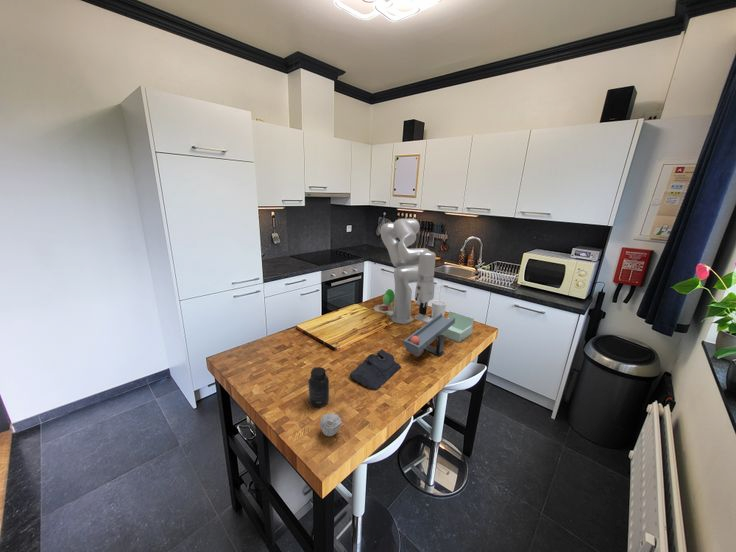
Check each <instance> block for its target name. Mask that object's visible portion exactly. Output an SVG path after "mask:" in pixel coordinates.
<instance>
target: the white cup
mask: <svg viewBox="0 0 736 552" xmlns="http://www.w3.org/2000/svg"><path fill="white" fill-rule="evenodd" d="M431 301H432V302H431V318H435V317H436V316H438V315H439V314H440V313H442V317H444V318H445V313H446V306H447V302H445V301H444V300H441V299H440V300H439V299H436V300H435V299H433V300H431Z"/></svg>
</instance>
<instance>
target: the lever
mask: <svg viewBox="0 0 736 552" xmlns="http://www.w3.org/2000/svg"><path fill="white" fill-rule="evenodd" d="M413 317H414V320H416V321H418V322H419V321H420V322H422V323H425V324H424V325H423V326H420V327H421V328H420V327H419V328H420V329H419V330H418V329H417V330H416V331H415V332H414V333H412V334H411V335H409V336H408V337H407V338H405V339H404V340H403V347H405V349H406V352H408V353H410V354H412V355H414V356H416V357H419V356H421V355H422V353H424V350H423V349H424V348H426V347H427V346H428V345H430V344H432V343H433V342H434V341H435V340H436V339H437V338H438V336H440V335H441V334H442V333H444V332H445V331H446V330H447V329H448V328H450V327H451V326H452V325H453V324H454V323H455V318H452V319H451V320H450V319H447V318H448V317H445V316H444V317H442V313H440V314H439V315H438V316H436V317H435V318H432V317H430V316H427V315H426V314H425V315H422V314H419V313H418V314H417V315H416V316H413ZM412 336H417V337H418V338H419V339H420V342H419V344H418V345H416V344H414V343H412V342H410V339H411V337H412Z"/></svg>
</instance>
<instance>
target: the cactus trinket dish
mask: <svg viewBox="0 0 736 552" xmlns="http://www.w3.org/2000/svg"><path fill="white" fill-rule="evenodd" d="M394 295H395V291H394V290H392V289H391V288H390V289H387V290H386V291H385V293H384V295H383V297H382V302H383V304H382V303H381V304H376V305H374V307H373V310H374V311H375V312H377V313H381V314H382V313H383V314H386V311H393V310H394V305H393V304H394Z"/></svg>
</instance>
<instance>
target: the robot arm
mask: <svg viewBox="0 0 736 552" xmlns="http://www.w3.org/2000/svg"><path fill="white" fill-rule="evenodd" d="M420 227H421V226H420V223H419V220H418V219H415V218H398V219H396V220H395V221H394V222H387V223H384V224H382V225H381V227H380V238H381V240H382V243H383V244H384V246H385V247H386V249H387V251H388V255H389V259H390V261H391V264H392V265H393V267H395V269H394V270H393V278H394V280H393V281H394V301H393V306H394V307H393V309H394V310H393V311H388V310H385V311H386V313H385V314H386V316H390V317H389V318H390V320H391V322H393V323H395V324H400V325H407V324H410V323H413V317H412V316H411V310H412V309H411V308H412V298H413V297H412V293H413V291H412V288H411V286H410V285H409V284H414V283H416V285H415V286H416V287H415V292H414V293H415V295H414V300H415V303H416V304H415V305H417V306H419V307H418V309H419V310H418V314H422V315H425V316H426V315H427V308H428V305H429V302H430V301H433V300H434V297H435V281H434V278H435V268H436V258H437V257H436V256H437V255H436V252H434V251H431V250H430V249H428V248H420V247H419V248H417V247H416V248H408V247H409V246H411V245H413V244H415V242H416V240H417V234H418V233H419V232H420ZM397 238H398V239H397Z"/></svg>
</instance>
